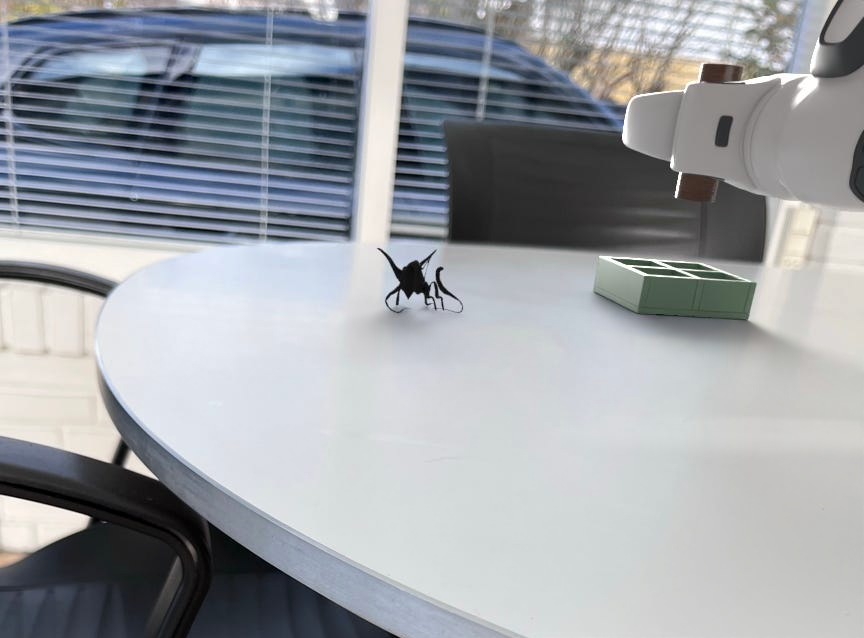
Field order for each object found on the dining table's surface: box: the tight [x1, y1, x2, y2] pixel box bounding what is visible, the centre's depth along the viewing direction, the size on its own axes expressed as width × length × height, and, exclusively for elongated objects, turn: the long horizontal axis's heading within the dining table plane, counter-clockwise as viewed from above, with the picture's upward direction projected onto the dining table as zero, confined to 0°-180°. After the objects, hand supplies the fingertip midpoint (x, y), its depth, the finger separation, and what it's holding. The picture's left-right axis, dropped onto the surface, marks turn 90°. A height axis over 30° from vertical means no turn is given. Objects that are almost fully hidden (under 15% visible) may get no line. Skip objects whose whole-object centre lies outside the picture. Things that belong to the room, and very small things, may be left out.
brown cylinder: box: [674, 62, 744, 203], centre depth 95 cm, size 4×4×11 cm
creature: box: [376, 247, 464, 314], centre depth 95 cm, size 8×5×8 cm
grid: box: [592, 255, 758, 321], centre depth 110 cm, size 12×12×4 cm
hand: (704, 127), depth 96 cm, fingers closed on brown cylinder, 3 cm apart
